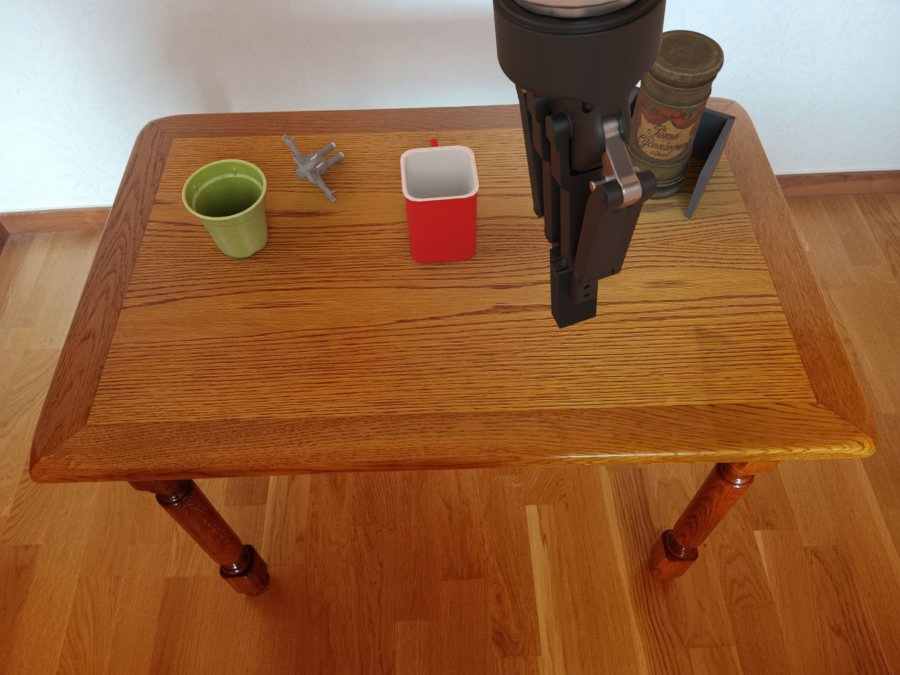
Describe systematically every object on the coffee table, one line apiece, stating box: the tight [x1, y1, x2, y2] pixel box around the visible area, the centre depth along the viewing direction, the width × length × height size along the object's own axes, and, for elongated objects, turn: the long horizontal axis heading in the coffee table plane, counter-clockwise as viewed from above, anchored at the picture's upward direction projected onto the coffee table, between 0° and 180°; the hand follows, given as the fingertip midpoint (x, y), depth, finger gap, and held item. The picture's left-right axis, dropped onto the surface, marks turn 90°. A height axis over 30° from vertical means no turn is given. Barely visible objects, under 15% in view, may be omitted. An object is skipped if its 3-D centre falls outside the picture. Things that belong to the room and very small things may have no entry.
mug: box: [399, 137, 480, 265], centre depth 82 cm, size 12×8×11 cm
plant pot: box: [181, 158, 269, 259], centre depth 83 cm, size 9×9×9 cm
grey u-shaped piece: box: [629, 85, 737, 219], centre depth 89 cm, size 12×13×7 cm
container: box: [625, 29, 725, 200], centre depth 84 cm, size 9×9×18 cm
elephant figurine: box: [281, 133, 345, 203], centre depth 90 cm, size 10×6×9 cm
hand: (573, 314), depth 49 cm, fingers closed
